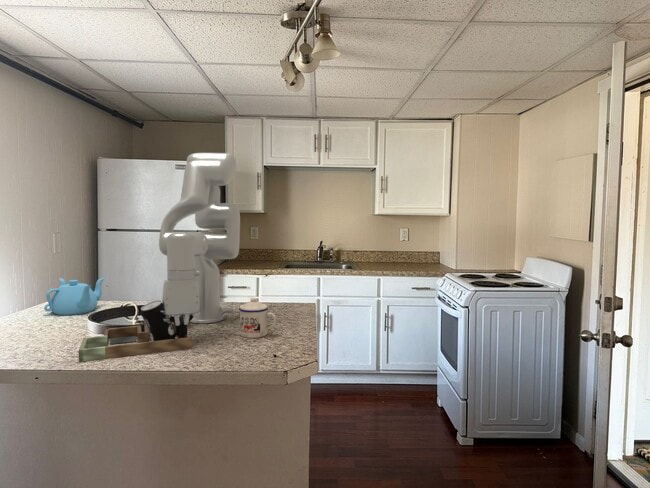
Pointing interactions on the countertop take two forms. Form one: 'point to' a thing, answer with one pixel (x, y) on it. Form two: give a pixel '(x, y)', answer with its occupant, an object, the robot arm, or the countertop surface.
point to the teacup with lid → (254, 319)
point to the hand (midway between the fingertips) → (181, 337)
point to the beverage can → (157, 321)
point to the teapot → (73, 298)
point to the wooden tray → (100, 350)
